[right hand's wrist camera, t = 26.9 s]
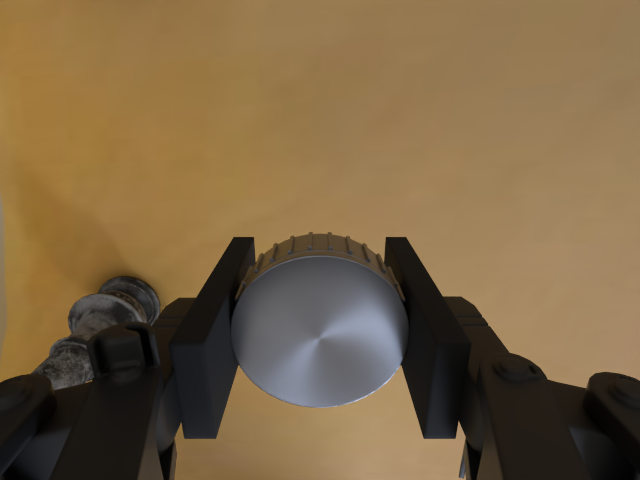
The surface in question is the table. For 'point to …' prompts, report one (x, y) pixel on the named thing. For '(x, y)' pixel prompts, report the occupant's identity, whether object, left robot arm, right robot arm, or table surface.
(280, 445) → the table surface
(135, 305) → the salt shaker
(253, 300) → the lid
